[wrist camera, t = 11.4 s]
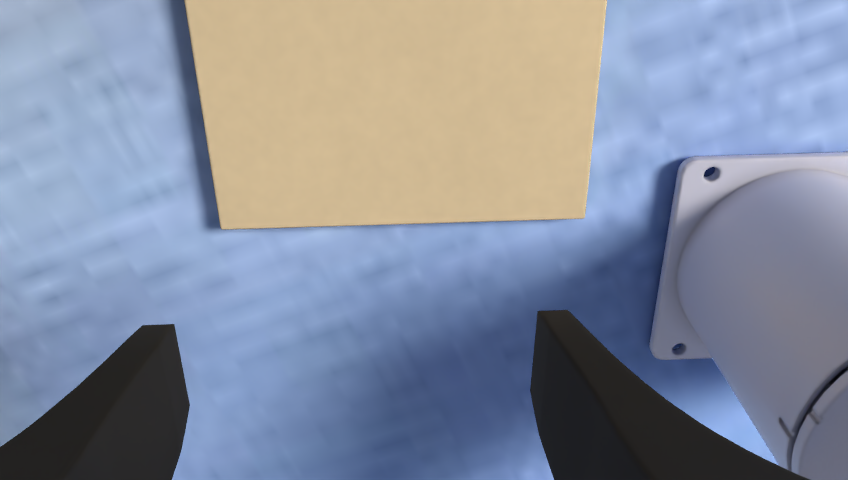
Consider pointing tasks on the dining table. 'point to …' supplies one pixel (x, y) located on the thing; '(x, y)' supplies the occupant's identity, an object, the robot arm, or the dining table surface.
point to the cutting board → (397, 109)
